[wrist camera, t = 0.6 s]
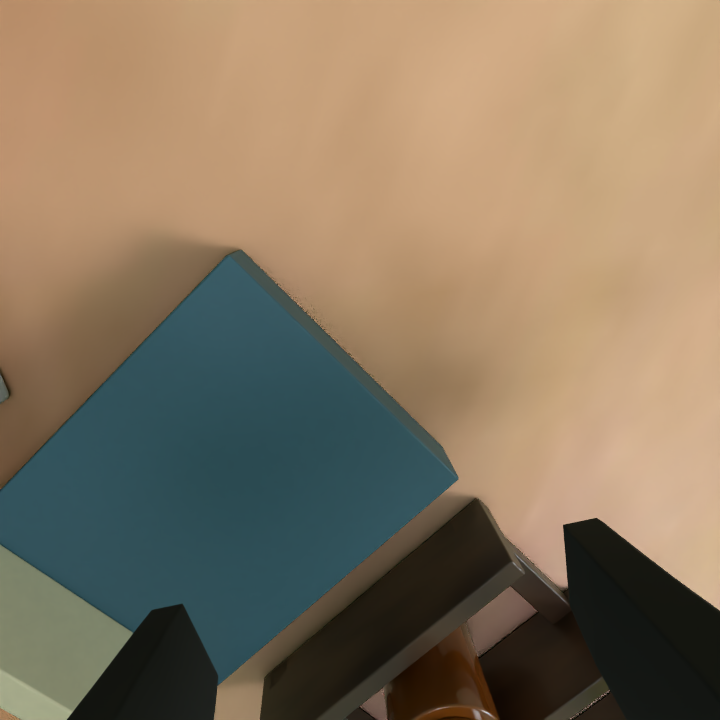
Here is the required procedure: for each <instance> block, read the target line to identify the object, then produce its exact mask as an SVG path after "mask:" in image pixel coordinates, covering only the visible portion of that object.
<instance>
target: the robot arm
mask: <svg viewBox="0 0 720 720" xmlns="http://www.w3.org/2000/svg"><path fill="white" fill-rule="evenodd" d="M563 529H564V542H565V554H566V566H567V578H568V591H569V603H570V607H571V610H572V612H573V614H574V617H575V619H576V621H577V624H578V626H579V628H580V631H581V633H582V635H583V637H584V640H585V642H586V644H587V646H588V648H589V651H590V653H591V655H592V657H593V659H594V662H595V664H596V666H597V668H598V669H599V671H600V673H601V675H602V677H603V679H604V680H605V682H606V684H607V686H608V687H609V689H610V691H611V693H612V695H613V696H614V698H615V700H616V702H617V703H618V705H619V707H620V709H621V711H622V712H623V714H624V716H625V718H626V719H627V720H720V611H719V610H718V609H717V608H715V607H714V606H713V605H711V604H710V603H708V602H707V601H706V600H704V599H703V598H701V597H700V596H699V595H697V594H696V593H694V592H693V591H692V590H690V589H689V588H688V587H686V586H685V585H684V584H682V583H681V582H680V581H678V580H677V579H675V578H674V577H673V576H671V575H670V574H669V573H668V572H666V571H665V570H664V569H662V568H661V567H660V566H658V565H657V564H656V563H654V562H653V561H652V560H651V559H649V558H648V557H647V556H645V555H644V554H643V553H642V552H640V551H639V550H638V549H636V548H635V547H634V546H633V545H631V544H630V543H629V542H627V541H626V540H625V539H624V538H622V537H621V536H620V535H619V534H617V533H616V532H615V531H614V530H612V529H611V528H610V527H609V526H607V525H606V524H605V523H603V522H602V521H601V520H599V519H597V518H594V519H589V520H584V521H580V522H575V523H570V524H565V525H563ZM217 685H218V674H217V672H216V670H215V668H214V666H213V664H212V662H211V660H210V658H209V656H208V654H207V652H206V650H205V648H204V646H203V643H202V641H201V639H200V637H199V635H198V633H197V631H196V629H195V627H194V625H193V623H192V621H191V619H190V617H189V615H188V613H187V611H186V609H185V607H184V605H183V604H178V605H173V606H168V607H163V608H158V609H154V610H151V612H150V613H149V614H148V615H147V616H146V618H145V619H144V620H143V621H142V623H141V624H140V625H139V626H138V628H137V629H136V630H135V632H134V633H133V634H132V635H131V637H130V638H129V639H128V641H127V642H126V643H125V645H124V646H123V647H122V649H121V650H120V651H119V652H118V654H117V655H116V656H115V658H114V659H113V660H112V662H111V663H110V664H109V666H108V667H107V668H106V670H105V671H104V672H103V673H102V675H101V676H100V677H99V679H98V680H97V681H96V683H95V684H94V685H93V686H92V688H91V689H90V690H89V692H88V693H87V694H86V695H85V697H84V698H83V699H82V701H81V702H80V703H79V704H78V706H77V707H76V708H75V710H74V711H73V712H72V713H71V715H70V716H69V717H68V719H67V720H214V713H215V704H216V695H217Z"/></svg>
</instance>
